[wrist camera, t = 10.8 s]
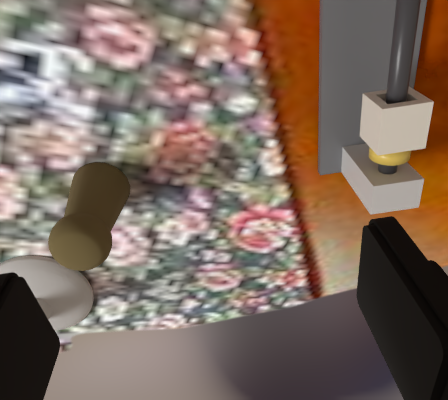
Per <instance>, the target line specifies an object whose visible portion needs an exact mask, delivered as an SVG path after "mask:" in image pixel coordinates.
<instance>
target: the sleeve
mask: <svg viewBox="0 0 448 400" xmlns="http://www.w3.org/2000/svg"><path fill="white" fill-rule="evenodd" d="M386 91H387V90H381V91H374V92H368V93H363V97H362V110H361V123H360V137H361V138H362V139H363V140H364V141H365V142H366V144H367V145H368V146H369V147H370V148H371V149H372V150H373V151H374V152H375V153H376V154H377V155H384V154H391V153H398V152H404V151H411V150H418V149H425V148H426V142H427V137H428V131H429V126H430V120H431V115H432V109H433V104H434V101H432V100H430V99H429V98H427V97H426V96H424V95H422V94H421V93H419V92H417V91H416V90H414V89H412V88H411V87H409V88H408V95H407V102H400V103H394V104H387V103H386V102H385V100H386Z"/></svg>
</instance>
